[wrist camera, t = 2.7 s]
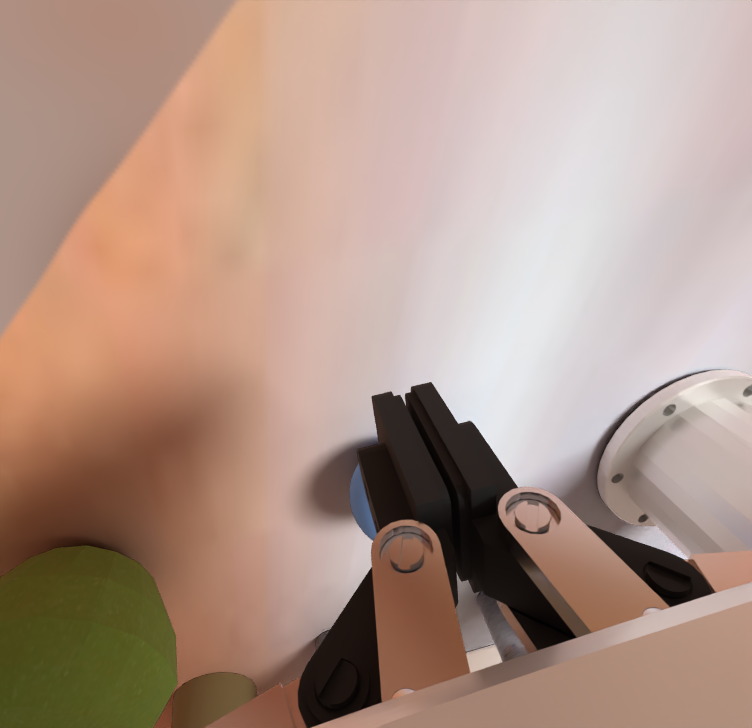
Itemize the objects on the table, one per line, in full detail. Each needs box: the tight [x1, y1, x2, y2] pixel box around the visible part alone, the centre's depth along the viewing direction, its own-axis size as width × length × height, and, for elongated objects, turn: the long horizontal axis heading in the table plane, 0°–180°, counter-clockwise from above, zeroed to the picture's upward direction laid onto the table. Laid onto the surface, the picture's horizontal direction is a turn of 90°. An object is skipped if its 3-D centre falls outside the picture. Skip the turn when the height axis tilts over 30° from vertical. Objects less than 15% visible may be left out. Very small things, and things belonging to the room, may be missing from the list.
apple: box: [0, 545, 177, 728], centre depth 21 cm, size 11×10×10 cm
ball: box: [349, 464, 377, 541], centre depth 24 cm, size 6×6×6 cm
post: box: [477, 591, 529, 662], centre depth 31 cm, size 3×3×8 cm
